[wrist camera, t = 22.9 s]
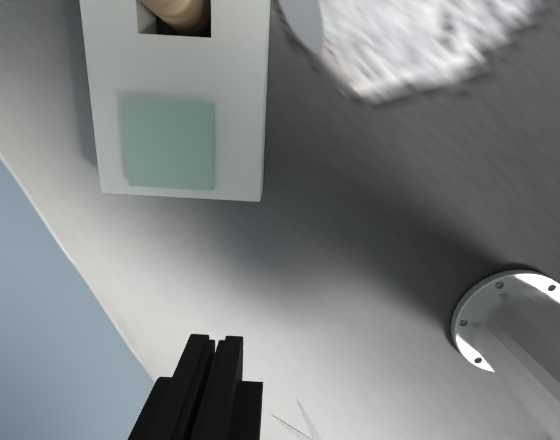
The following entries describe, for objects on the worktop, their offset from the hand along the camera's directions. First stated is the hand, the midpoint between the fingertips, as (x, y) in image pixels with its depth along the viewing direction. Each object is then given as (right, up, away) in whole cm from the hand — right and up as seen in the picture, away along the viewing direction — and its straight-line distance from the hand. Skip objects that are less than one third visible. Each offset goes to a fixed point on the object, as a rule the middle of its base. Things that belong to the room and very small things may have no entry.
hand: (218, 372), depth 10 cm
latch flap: (-7, +11, +17) cm, 21 cm away
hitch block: (-6, +18, +19) cm, 27 cm away
